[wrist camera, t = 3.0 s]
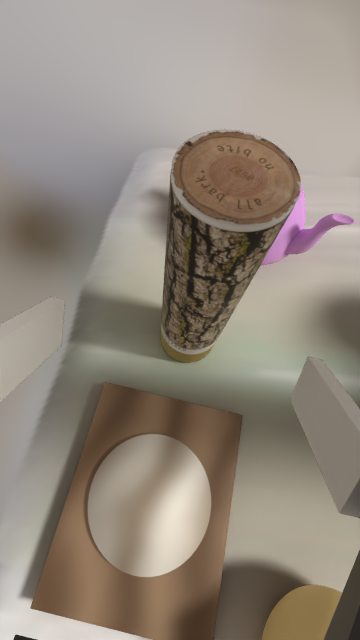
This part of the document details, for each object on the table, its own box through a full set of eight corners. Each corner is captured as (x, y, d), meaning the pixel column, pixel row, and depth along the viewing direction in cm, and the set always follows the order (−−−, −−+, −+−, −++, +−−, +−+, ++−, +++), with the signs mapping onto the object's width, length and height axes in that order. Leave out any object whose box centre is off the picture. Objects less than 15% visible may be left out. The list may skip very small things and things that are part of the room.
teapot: (327, 251, 46) (382, 188, 35) (277, 311, 41) (324, 260, 30) (226, 182, 50) (247, 106, 39) (169, 229, 45) (175, 157, 34)
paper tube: (192, 375, 36) (260, 249, 13) (149, 342, 37) (143, 176, 15) (222, 334, 39) (322, 169, 16) (181, 305, 40) (218, 113, 17)
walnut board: (238, 416, 35) (243, 414, 33) (208, 643, 27) (212, 658, 25) (106, 384, 35) (104, 381, 33) (36, 600, 27) (28, 611, 25)
